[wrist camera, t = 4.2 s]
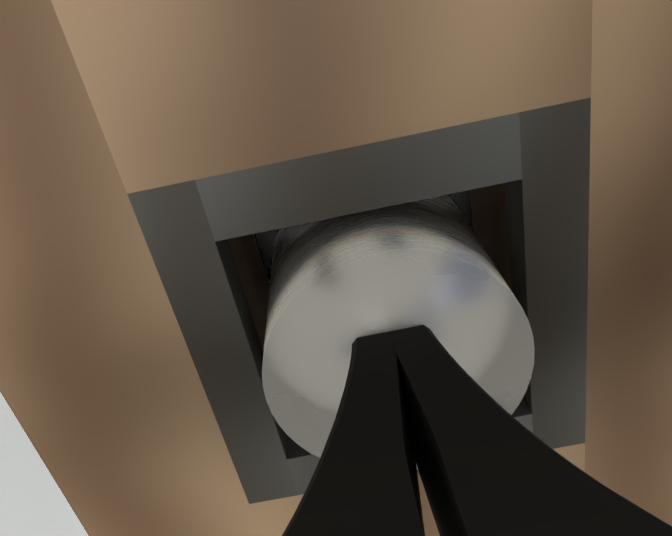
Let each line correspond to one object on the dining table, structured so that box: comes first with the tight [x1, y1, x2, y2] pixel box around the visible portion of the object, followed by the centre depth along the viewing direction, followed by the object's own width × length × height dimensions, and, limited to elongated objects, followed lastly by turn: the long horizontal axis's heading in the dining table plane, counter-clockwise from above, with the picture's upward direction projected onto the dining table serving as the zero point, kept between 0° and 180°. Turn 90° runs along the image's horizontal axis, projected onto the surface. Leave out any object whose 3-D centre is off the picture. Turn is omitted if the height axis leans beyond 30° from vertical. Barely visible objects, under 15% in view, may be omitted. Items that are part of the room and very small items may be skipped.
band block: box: [0, 0, 672, 536], centre depth 14 cm, size 16×16×5 cm
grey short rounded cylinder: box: [262, 195, 535, 470], centre depth 13 cm, size 5×5×4 cm
